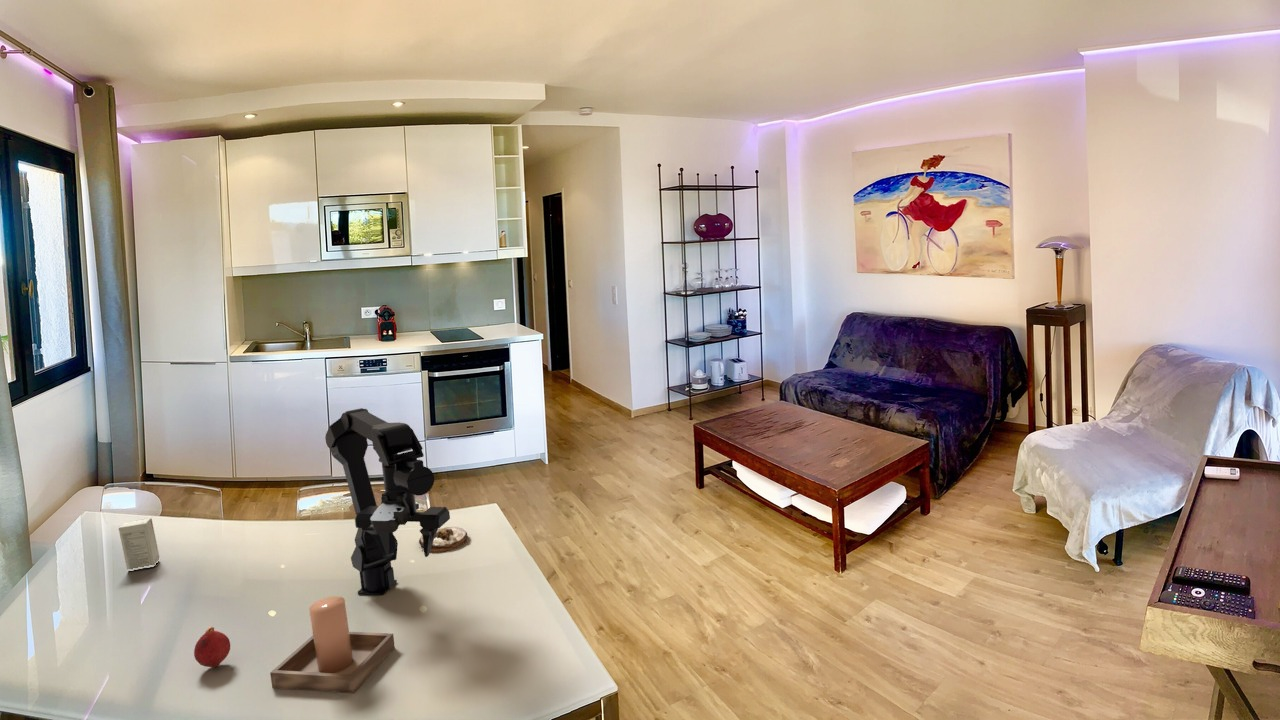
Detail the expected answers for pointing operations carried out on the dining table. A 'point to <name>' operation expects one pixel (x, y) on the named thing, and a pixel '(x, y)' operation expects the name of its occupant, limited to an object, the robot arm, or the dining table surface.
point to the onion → (211, 648)
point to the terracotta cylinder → (331, 634)
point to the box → (306, 676)
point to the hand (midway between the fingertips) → (406, 555)
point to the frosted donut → (447, 539)
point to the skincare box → (139, 543)
